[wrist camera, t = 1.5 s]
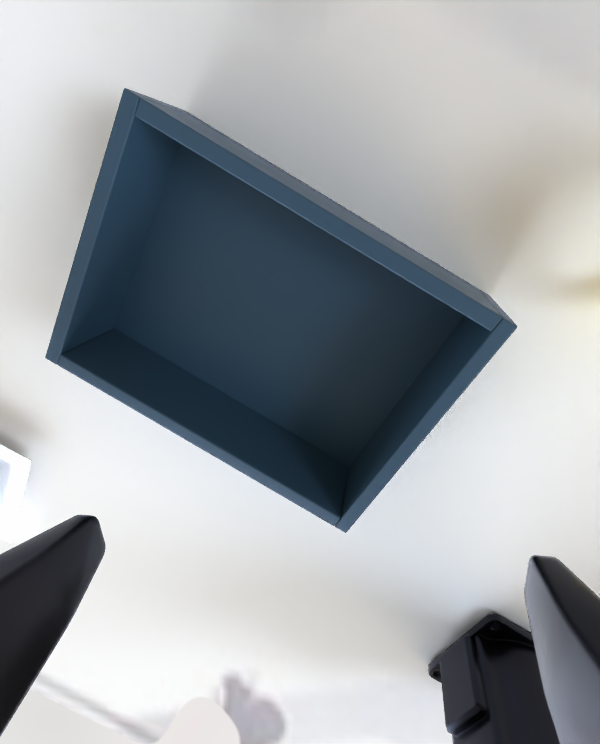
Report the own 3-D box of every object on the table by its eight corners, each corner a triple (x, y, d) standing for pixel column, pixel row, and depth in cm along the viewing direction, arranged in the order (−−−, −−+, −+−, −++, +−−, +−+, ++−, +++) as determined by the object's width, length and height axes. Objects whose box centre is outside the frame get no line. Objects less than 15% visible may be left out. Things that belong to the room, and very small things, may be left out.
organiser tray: (491, 296, 19) (518, 326, 15) (354, 473, 24) (345, 533, 20) (184, 110, 19) (123, 86, 14) (107, 327, 23) (44, 358, 19)
